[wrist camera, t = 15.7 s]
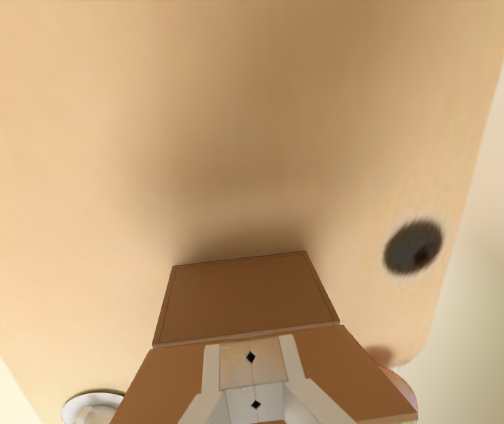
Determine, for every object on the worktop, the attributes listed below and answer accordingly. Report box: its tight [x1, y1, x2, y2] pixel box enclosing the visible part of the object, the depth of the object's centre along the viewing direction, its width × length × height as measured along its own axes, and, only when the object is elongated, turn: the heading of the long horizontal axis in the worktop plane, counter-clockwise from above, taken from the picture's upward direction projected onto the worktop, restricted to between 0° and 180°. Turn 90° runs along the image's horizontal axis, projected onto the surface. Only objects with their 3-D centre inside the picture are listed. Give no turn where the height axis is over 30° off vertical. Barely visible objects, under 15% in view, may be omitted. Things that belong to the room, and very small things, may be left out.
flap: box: [109, 325, 418, 424], centre depth 16 cm, size 8×14×1 cm
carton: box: [152, 251, 340, 349], centre depth 28 cm, size 17×14×10 cm
